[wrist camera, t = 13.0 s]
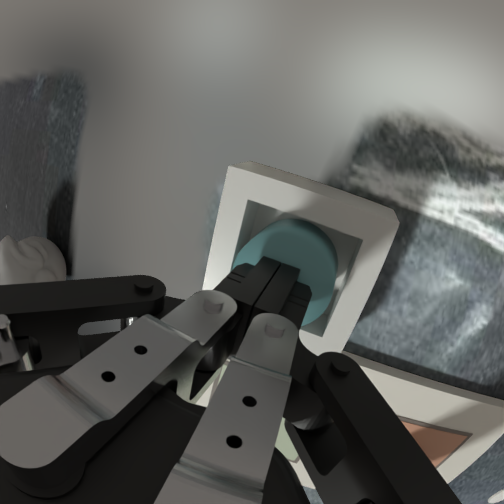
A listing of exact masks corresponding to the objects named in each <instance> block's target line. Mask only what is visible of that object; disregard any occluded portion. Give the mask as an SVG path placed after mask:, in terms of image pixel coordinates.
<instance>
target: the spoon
mask: <svg viewBox="0 0 504 504" xmlns="http://www.w3.org/2000/svg"><path fill="white" fill-rule="evenodd" d="M503 499H504V489H502V490H501V491H499V492H498V493H496V494H494V495H493V496H491V497H490V498H489V499H488V503H491V504H492V503H496V502H500V501H501V500H503Z"/></svg>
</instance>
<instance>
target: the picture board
mask: <svg viewBox="0 0 504 504" xmlns="http://www.w3.org/2000/svg"><path fill="white" fill-rule="evenodd" d="M341 353H342V354H345V355H347V356H349V357H350V358H352V359H353V360H354V361H355V362H357V364H358V365H359V366H360V367H361V369H362V370H363V371H364V373H365V374H366V375H367V377H368V378H369V379H370V380H371V382H372V383H373V384H374V386H375V387H376V388H377V390H378V391H379V392H380V394H381V395H382V396H383V398H384V399H385V400H386V402H387V403H388V404H389V406H390V407H391V408H392V410H393V411H394V412H395V414H396V415H397V416H398V418H399V419H400V420H401V422H402V423H403V424H404V426H405V427H406V428H407V430H408V431H409V432H410V434H411V435H412V436H413V438H414V439H415V440H416V442H417V443H418V445H419V446H420V447H421V449H422V450H423V451H424V453H425V454H426V455H427V457H428V458H429V459H430V461H431V462H432V464H433V465H434V466H435V468H436V469H437V470H438V472H439V473H440V474H441V476H442V477H443V479H444V480H445V481H446V483H447V484H448V483H449V482H451V481H452V480H453V479H454V478H456V477H457V476H458V475H459V474H460V473H462V472H463V471H464V470H465V469H466V468H467V467H469V466H470V465H471V464H472V463H473V462H474V461H475V460H476V459H478V458H479V457H480V456H481V455H482V454H483V453H484V452H485V451H486V450H487V449H488V448H489V447H490V446H491V445H492V444H493V443H494V442H495V441H496V440H497V439H498V438H499V437H500V436H501V435H502V434H503V433H504V400H501V399H497V398H493V397H489V396H486V395H482V394H478V393H475V392H471V391H468V390H464V389H461V388H457V387H454V386H450V385H447V384H444V383H440V382H437V381H434V380H431V379H427V378H424V377H421V376H418V375H415V374H411V373H408V372H405V371H402V370H399V369H396V368H393V367H390V366H387V365H384V364H381V363H378V362H375V361H372V360H369V359H366V358H363V357H361V356H358V355H355V354H352V353H349V352H346V351H343V350H342V352H341ZM229 362H230V360H229V359H227V360H226V362H225V363H224V365H223V366H222V367H221V370H220V373H219V375H218V377H217V378H216V379H215V380H214V382H213V383H212V384H211V385H210V386H209V388H208V389H207V390H206V391H205V393H204V394H203V395H202V396H201V398H200V399H199V400H198V401H197V402H196V405H200V406H204V407H207V406H208V404H209V402H210V400H211V398H212V396H213V394H214V392H215V390H216V388H217V386H218V384H219V382H220V380H221V378H222V376H223V374H224V372H225V370H226V368H227V366H228V364H229ZM284 421H285V418H283V417H282V421H281V424H280V428H279V432H278V436H277V440H276V443H275V447H276V448H277V449H278V450H279V451H280V452H281V453H282V454H283V455H284V456H285V457H286V458H287V460H288V461H289V462H290V464H291V465H292V467H293V468H294V470H295V472H296V474H297V476H298V478H299V480H300V482H301V485H303V486H306V487H309V488H313V489H316V488H315V486H314V484H313V482H312V481H311V479H310V477H309V475H308V473H307V471H306V469H305V467H304V465H303V463H302V461H301V459H300V457H299V455H298V453H297V451H296V449H295V448H294V446H293V444H292V442H291V440H290V438H289V436H288V434H287V432H286V429H285V426H284Z"/></svg>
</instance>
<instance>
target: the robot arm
mask: <svg viewBox="0 0 504 504" xmlns="http://www.w3.org/2000/svg"><path fill="white" fill-rule="evenodd" d="M281 264H282V265H281ZM300 271H301V269H299V268H296V267H293V266H291V265H288V264H285V263H282V262H279V261H277V260H274V259H271V258H269V257H266V256H263V257H262V258H261V259H260V260H259V262H258V263H257V264H256V265H255V266H254V265H252V264H249V263H243V264H240V265H237V266H236V267H235V268H234V269H233V270H232V271H231V272H230V273H229V274H228V275H227V276H226V277H225V278H224V279H223V280H222V281H221V282H220V283H219V284H218V285H217V286H216V287H215V288H214V289H213V290H201V291H198V292H196V293H194V294H193V295H192V296H190V297H189V298H188V299H187V300H182V299H177V298H172V297H168V296H165V295H166V287H165V285H164V284H163V283H162V282H161V281H160V280H158V279H156V278H154V277H151V276H146V275H133V276H121V277H107V278H94V279H80V280H67V281H52V282H38V283H23V284H8V285H0V504H310V502H309V500H308V498H307V495H306V493H305V491H304V489H303V487H302V485H301V482H300V480H299V478H298V476H297V474H296V472H295V470H294V468H293V467H292V465H291V464H290V462H289V461H288V460H287V458H286V457H285V456H284V455H283V454H282V453H281V452H280V451H279V450H278V449H277V448H276V447H275V443H276V440H277V436H278V432H279V428H280V424H281V421H282V417H283V418H285V421H284V426H285V429H286V432H287V434H288V436H289V438H290V440H291V442H292V444H293V446H294V448H295V449H296V451H297V453H298V455H299V457H300V459H301V461H302V463H303V465H304V467H305V469H306V471H307V473H308V475H309V477H310V479H311V481H312V482H313V484H314V486H315V488H316V490H317V492H318V494H319V496H320V498H321V499H322V501H323V503H324V504H462V503H461V502H460V501H459V499H458V498H457V496H456V495H455V494H454V492H453V491H452V490H451V488H450V487H449V485H448V484H447V483H446V481H445V480H444V479H443V477H442V476H441V474H440V473H439V472H438V470H437V469H436V468H435V466H434V465H433V464H432V462H431V461H430V459H429V458H428V457H427V455H426V454H425V453H424V451H423V450H422V449H421V447H420V446H419V445H418V443H417V442H416V440H415V439H414V438H413V436H412V435H411V434H410V432H409V431H408V430H407V428H406V427H405V426H404V424H403V423H402V422H401V420H400V419H399V418H398V416H397V415H396V414H395V412H394V411H393V410H392V408H391V407H390V406H389V404H388V403H387V402H386V400H385V399H384V398H383V396H382V395H381V394H380V392H379V391H378V390H377V388H376V387H375V386H374V384H373V383H372V382H371V380H370V379H369V378H368V377H367V375H366V374H365V373H364V371H363V370H362V369H361V367H360V366H359V365H358V364H357V362H355V361H354V360H353V359H352V358H350V357H349V356H347V355H345V354H342V353H339V352H332V351H331V352H324V353H322V354H320V355H319V356H317V355H315V354H314V353H312V352H311V351H309V350H308V349H307V348H306V347H305V346H304V345H303V344H302V342H301V340H300V338H299V330H300V328H301V325H302V322H303V319H304V317H305V314H306V311H307V308H308V305H309V302H310V300H311V297H312V292H311V289H310V286H308V285H306V284H303V283H300V282H297V280H298V277H299V274H300ZM113 319H121V331H118V332H110V333H102V334H93V335H79V334H78V329H79V327H80V326H81V325H82V324H84V323H87V322H95V321H105V320H113ZM227 359H229V360H230V362H229V364H228V366H227V368H226V370H225V372H224V374H223V376H222V378H221V380H220V382H219V384H218V386H217V388H216V390H215V392H214V394H213V396H212V398H211V400H210V402H209V404H208V406H207V407H204V406H200V405H196V402H197V401H198V400H199V399H200V398H201V396H202V395H203V394H204V393H205V391H206V390H207V389H208V388H209V386H210V385H211V384H212V383H213V382H214V380H215V379H216V378H217V377H218V375H219V373H220V370H221V367H222V366H223V365H224V363H225V362H226V360H227Z"/></svg>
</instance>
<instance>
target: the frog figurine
mask: <svg viewBox="0 0 504 504" xmlns="http://www.w3.org/2000/svg"><path fill="white" fill-rule="evenodd" d="M65 279H66V263H65V259H64V257H63V254H62V253H61V251H60V249H59V248H58V247H57V246H56V245H55V244H54V243H53V242H51V241H50V240H48V239H46V238H43V237H29V238H25V239H23V240H21V241H19V242H17V241H15V240H14V239H13V238H12V237H11V236H6V237H4V238H3V239H2V241H1V242H0V285H8V284H23V283H38V282H52V281H65Z"/></svg>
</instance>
